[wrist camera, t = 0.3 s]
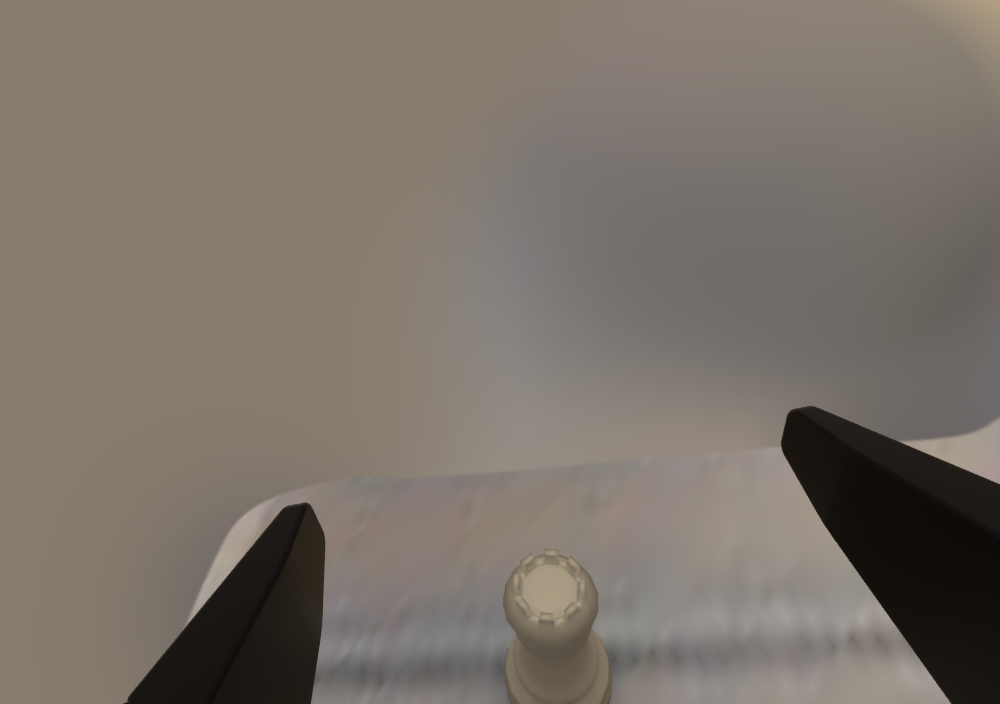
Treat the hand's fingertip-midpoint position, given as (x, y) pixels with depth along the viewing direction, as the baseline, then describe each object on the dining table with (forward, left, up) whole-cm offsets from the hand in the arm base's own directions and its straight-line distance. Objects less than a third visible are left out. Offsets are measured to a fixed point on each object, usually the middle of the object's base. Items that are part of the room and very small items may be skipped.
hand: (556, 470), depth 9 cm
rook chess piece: (+3, 0, -17) cm, 17 cm away
